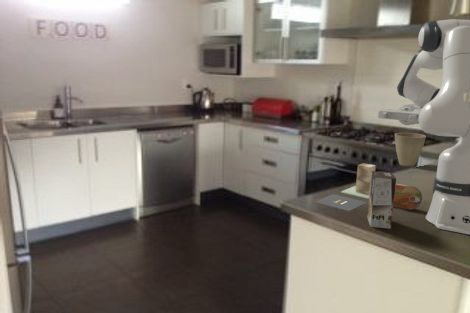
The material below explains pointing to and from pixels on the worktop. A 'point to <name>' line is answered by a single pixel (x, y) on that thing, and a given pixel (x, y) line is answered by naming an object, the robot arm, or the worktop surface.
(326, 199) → the tile
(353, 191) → the board
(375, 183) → the coffee box
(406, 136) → the plant pot
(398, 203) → the tin
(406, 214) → the worktop surface
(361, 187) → the beech block
